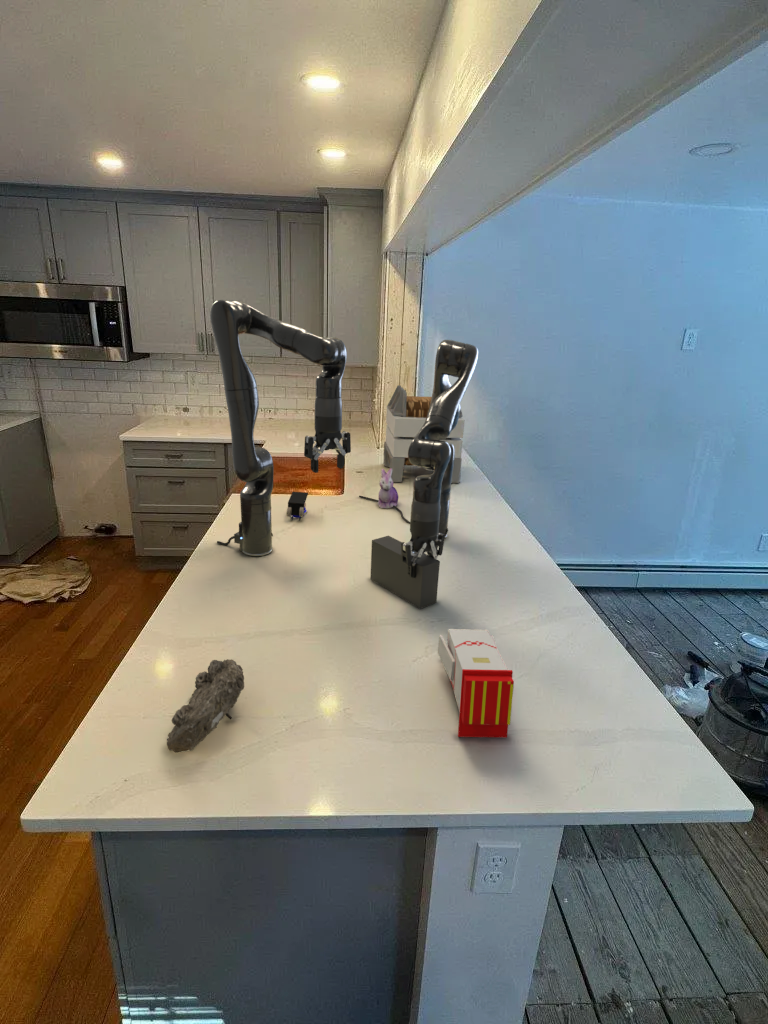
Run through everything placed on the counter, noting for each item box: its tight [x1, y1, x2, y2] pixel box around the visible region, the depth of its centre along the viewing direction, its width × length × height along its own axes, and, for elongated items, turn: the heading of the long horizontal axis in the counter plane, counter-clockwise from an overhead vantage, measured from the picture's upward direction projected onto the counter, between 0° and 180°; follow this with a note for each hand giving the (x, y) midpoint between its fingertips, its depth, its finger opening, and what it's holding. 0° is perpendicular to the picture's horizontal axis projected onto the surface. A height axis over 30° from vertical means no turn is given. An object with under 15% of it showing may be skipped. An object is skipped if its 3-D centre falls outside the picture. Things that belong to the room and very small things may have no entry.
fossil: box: [166, 658, 245, 754], centre depth 106 cm, size 22×10×15 cm
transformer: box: [383, 384, 465, 484], centre depth 268 cm, size 34×33×41 cm
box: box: [369, 535, 441, 610], centre depth 158 cm, size 21×6×12 cm, turn 40°
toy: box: [437, 628, 515, 738], centre depth 117 cm, size 12×13×30 cm
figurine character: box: [286, 491, 309, 522], centre depth 211 cm, size 7×8×15 cm
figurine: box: [377, 467, 399, 509], centre depth 226 cm, size 9×10×15 cm
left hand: (327, 470), depth 162 cm, fingers open, 8 cm apart
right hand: (421, 573), depth 152 cm, fingers closed on box, 6 cm apart
